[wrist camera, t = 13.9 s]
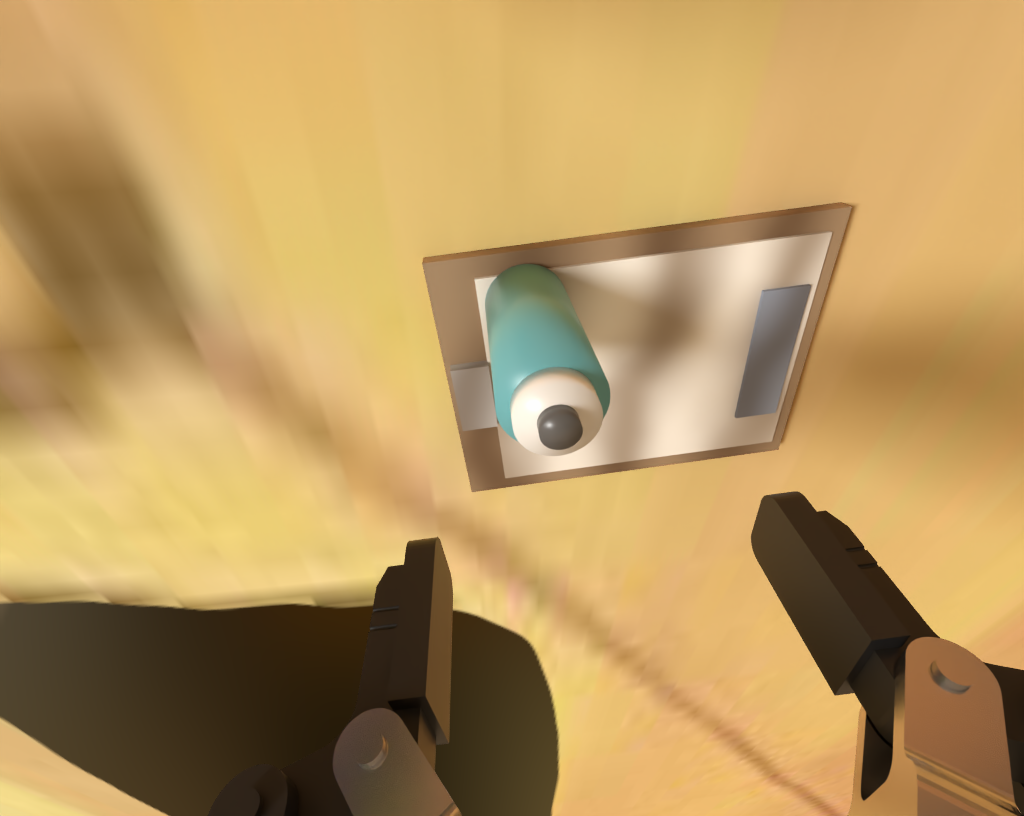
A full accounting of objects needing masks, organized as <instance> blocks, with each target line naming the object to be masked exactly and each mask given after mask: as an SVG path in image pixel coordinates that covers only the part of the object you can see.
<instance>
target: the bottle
mask: <svg viewBox="0 0 1024 816" xmlns="http://www.w3.org/2000/svg"><path fill="white" fill-rule="evenodd" d="M485 312H486V322H487V332H488V342H489V351H490V361H491V371H492V381H493V390H494V400H495V410H496V415H497V419H498V421H499V424H500V425H501V427H502V428H503V430H504V431H505V432H506V433H507V434H508V435H509V436H510V437H511V438H513V439H514V440H516V441H518V442H519V443H520V444H521V445H522V446H523V447H524V448H526V449H527V450H529V451H531V452H533V453H536V454H539V455H543V456H561V455H566V454H570V453H572V452H575V451H577V450H579V449H581V448H583V447H584V446H586V445H587V444H588V443H589V442H591V441H592V440H593V439H594V437H595V436H596V435H597V433H598V432H599V430H600V428H601V425H602V421H603V419H604V417H605V415H606V413H607V411H608V408H609V404H610V397H611V396H610V387H609V383H608V381H607V378H606V376H605V374H604V372H603V370H602V368H601V365H600V363H599V361H598V359H597V357H596V355H595V352H594V350H593V348H592V346H591V344H590V342H589V340H588V337H587V335H586V333H585V331H584V329H583V327H582V324H581V322H580V320H579V318H578V316H577V314H576V311H575V309H574V307H573V305H572V303H571V301H570V298H569V296H568V294H567V292H566V290H565V288H564V286H563V284H562V282H561V280H560V279H559V278H558V276H557V275H556V274H554V273H553V272H552V271H551V270H549V269H547V268H545V267H543V266H540V265H535V264H521V265H516V266H513V267H510V268H508V269H506V270H505V271H503V272H502V273H500V274H499V275H498V276H497V277H496V278H495V279H494V280H493V282H492V283H491V285H490V287H489V289H488V291H487V294H486V298H485Z"/></svg>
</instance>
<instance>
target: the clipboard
mask: <svg viewBox="0 0 1024 816" xmlns="http://www.w3.org/2000/svg"><path fill="white" fill-rule="evenodd" d="M851 209H852V206H849V205H846V204H844V203H833V204H826V205H818V206H811V207H803V208H796V209H788V210H781V211H773V212H765V213H758V214H750V215H743V216H735V217H728V218H720V219H713V220H705V221H697V222H690V223H682V224H675V225H667V226H660V227H652V228H645V229H637V230H629V231H622V232H614V233H607V234H599V235H592V236H584V237H577V238H569V239H561V240H554V241H546V242H539V243H531V244H524V245H516V246H509V247H501V248H493V249H486V250H478V251H471V252H463V253H456V254H448V255H441V256H433V257H425V258H423V263H422V264H423V269H424V274H425V278H426V283H427V287H428V292H429V297H430V301H431V306H432V310H433V315H434V320H435V324H436V329H437V333H438V338H439V343H440V347H441V352H442V356H443V361H444V366H445V370H446V375H447V379H448V384H449V388H450V393H451V398H452V402H453V407H454V411H455V416H456V421H457V425H458V430H459V434H460V439H461V444H462V448H463V453H464V457H465V462H466V467H467V471H468V476H469V480H470V485H471V490H472V492H476V491H483V490H490V489H498V488H505V487H512V486H519V485H527V484H534V483H541V482H548V481H555V480H563V479H570V478H577V477H584V476H592V475H599V474H606V473H613V472H620V471H628V470H635V469H642V468H649V467H656V466H664V465H671V464H678V463H685V462H693V461H700V460H707V459H714V458H721V457H729V456H736V455H743V454H750V453H758V452H765V451H772V450H778V449H779V446H780V443H781V439H782V436H783V433H784V429H785V426H786V423H787V419H788V416H789V413H790V410H791V406H792V403H793V400H794V396H795V393H796V390H797V387H798V383H799V380H800V377H801V373H802V370H803V367H804V363H805V360H806V357H807V354H808V350H809V347H810V344H811V340H812V337H813V334H814V331H815V327H816V324H817V321H818V317H819V314H820V311H821V308H822V304H823V301H824V298H825V294H826V291H827V288H828V284H829V281H830V278H831V275H832V271H833V268H834V265H835V261H836V258H837V255H838V252H839V248H840V245H841V242H842V238H843V235H844V232H845V228H846V225H847V222H848V219H849V215H850V212H851ZM521 264H535V265H540V266H543V267H545V268H547V269H549V270H551V271H552V272H553V273H554V274H556V275H557V276H558V278H559V279H560V280H561V282H562V284H563V286H564V288H565V290H566V292H567V294H568V296H569V298H570V301H571V303H572V305H573V307H574V309H575V311H576V314H577V316H578V318H579V320H580V322H581V324H582V327H583V329H584V331H585V333H586V335H587V337H588V340H589V342H590V344H591V346H592V348H593V350H594V352H595V355H596V357H597V359H598V361H599V363H600V365H601V368H602V370H603V372H604V374H605V376H606V378H607V381H608V383H609V387H610V396H611V397H610V404H609V408H608V411H607V413H606V415H605V417H604V419H603V421H602V425H601V428H600V430H599V432H598V433H597V435H596V436H595V437H594V439H593V440H592V441H591V442H589V443H588V444H587V445H586V446H584V447H583V448H581V449H579V450H577V451H575V452H572V453H570V454H566V455H561V456H543V455H539V454H536V453H533V452H531V451H529V450H527V449H526V448H524V447H523V446H522V445H521V444H520V443H519V442H518V441H516V440H514V439H513V438H511V437H510V436H509V435H508V434H507V433H506V432H505V431H504V430H503V428H502V427H501V425H500V424H499V421H498V419H497V415H496V410H495V400H494V390H493V381H492V371H491V361H490V351H489V342H488V332H487V322H486V312H485V298H486V294H487V291H488V289H489V287H490V285H491V283H492V282H493V280H494V279H495V278H496V277H497V276H498V275H499V274H500V273H502V272H503V271H505V270H506V269H508V268H510V267H513V266H516V265H521Z"/></svg>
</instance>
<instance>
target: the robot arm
mask: <svg viewBox="0 0 1024 816" xmlns="http://www.w3.org/2000/svg"><path fill="white" fill-rule="evenodd" d="M751 543H752V548H753V552H754V554H755V557H756V559H757V561H758V562H759V564H760V566H761V568H762V569H763V571H764V573H765V575H766V576H767V578H768V580H769V582H770V583H771V585H772V587H773V589H774V590H775V592H776V594H777V596H778V597H779V599H780V601H781V603H782V604H783V606H784V608H785V610H786V611H787V613H788V615H789V617H790V618H791V620H792V622H793V623H794V625H795V627H796V629H797V630H798V632H799V634H800V636H801V637H802V639H803V641H804V643H805V644H806V646H807V648H808V650H809V651H810V653H811V655H812V657H813V658H814V660H815V662H816V664H817V665H818V667H819V669H820V671H821V672H822V674H823V676H824V678H825V679H826V681H827V683H828V684H829V686H830V688H831V690H832V691H833V693H834V695H842V694H850V693H855V695H856V696H857V698H858V700H859V701H860V703H861V704H862V706H861V708H860V712H859V721H858V733H857V746H856V758H855V770H854V782H853V794H852V802H851V806H850V810H849V813H848V815H847V816H1024V670H1020V669H1014V668H1009V667H1003V666H998V665H993V664H989V663H984V662H982V661H981V660H980V659H979V658H977V657H976V656H975V655H974V654H972V653H971V652H969V651H968V650H966V649H965V648H963V647H961V646H959V645H957V644H955V643H953V642H950V641H947V640H944V639H941V638H940V637H939V636H937V635H936V634H935V633H934V632H933V630H932V629H931V628H930V627H929V626H928V625H927V623H926V622H925V621H924V620H923V619H922V617H921V616H920V615H919V614H918V612H917V611H916V610H915V609H914V607H913V606H912V605H911V604H910V602H909V601H908V600H907V599H906V598H905V596H904V595H903V594H902V593H901V591H900V590H899V589H898V588H897V586H896V585H895V584H894V583H893V581H892V580H891V579H890V578H889V576H888V575H887V574H886V573H885V572H884V570H883V569H882V568H881V567H879V566H878V565H877V562H876V560H875V559H874V558H873V557H872V555H871V554H870V553H869V552H868V550H865V549H864V546H863V544H862V543H861V542H860V541H859V539H858V538H857V537H856V536H855V534H854V533H853V532H852V531H851V529H850V528H849V527H848V526H847V525H845V524H844V523H842V522H841V521H840V520H838V519H837V518H835V517H834V516H833V515H831V514H830V513H828V512H827V511H819V512H816V510H815V509H814V508H813V507H812V505H811V504H810V503H809V501H808V500H807V499H806V498H805V496H804V495H803V494H801V493H800V492H788V493H780V494H773V495H766V496H764V497H763V498H762V500H761V504H760V507H759V510H758V514H757V517H756V520H755V524H754V527H753V530H752V534H751ZM452 611H453V588H452V579H451V574H450V570H449V567H448V564H447V561H446V557H445V554H444V551H443V548H442V545H441V542H440V539H439V538H438V537H437V538H429V539H421V540H414V541H409V542H408V543H407V546H406V553H405V561H404V565H398V566H391V567H388V568H387V570H386V572H385V573H384V575H383V577H382V579H381V580H380V582H379V584H378V585H377V587H376V593H375V599H374V605H373V613H372V617H371V622H370V632H369V634H368V640H367V646H366V652H365V658H364V664H363V670H362V675H361V681H360V687H359V693H358V699H357V703H356V707H355V709H354V712H353V714H352V716H351V718H350V720H349V722H348V723H347V725H346V726H345V728H344V729H343V730H342V732H341V733H340V734H339V735H338V736H337V737H336V738H335V739H334V740H333V741H332V742H330V743H329V744H328V745H326V746H325V747H323V748H321V749H320V750H318V751H316V752H314V753H312V754H310V755H308V756H306V757H304V758H302V759H301V760H298V761H296V762H294V763H293V764H290V765H288V766H286V767H285V768H283V769H281V770H279V769H278V768H276V767H274V766H272V765H268V764H261V765H256V766H253V767H250V768H248V769H246V770H244V771H242V772H241V773H239V774H238V775H237V776H235V777H234V778H233V779H232V780H231V781H230V782H229V783H228V784H227V785H226V786H225V787H224V789H223V790H222V791H221V792H220V794H219V795H218V797H217V798H216V800H215V802H214V803H213V805H212V807H211V810H210V812H209V814H208V816H462V814H461V813H460V811H459V810H458V808H457V806H456V805H455V803H454V802H453V800H452V798H451V797H450V795H449V794H448V792H447V791H446V789H445V788H444V786H443V784H442V783H441V781H440V779H439V778H438V776H437V775H436V773H435V751H436V750H435V749H436V745H440V744H448V743H449V722H450V685H451V647H452ZM1016 806H1017V807H1018V809H1019V810H1020V812H1021V813H1022V814H1021V813H1020V812H1019V810H1018V809H1017V807H1016Z"/></svg>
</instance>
